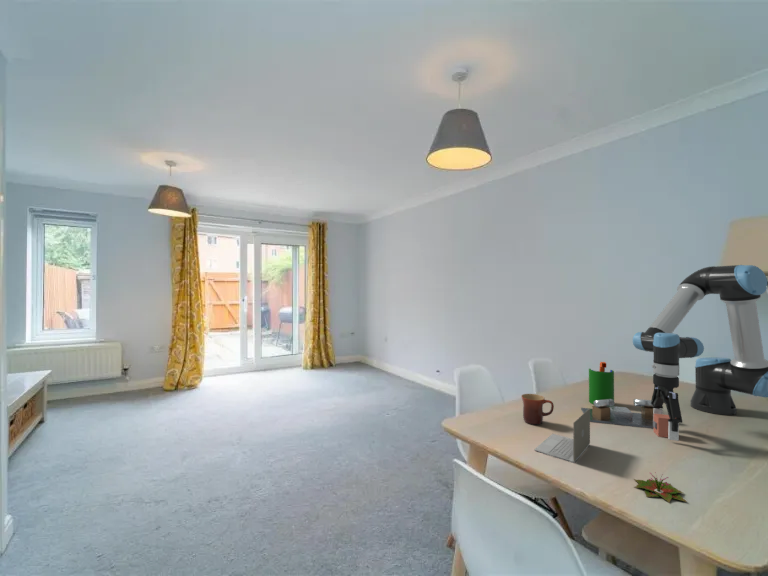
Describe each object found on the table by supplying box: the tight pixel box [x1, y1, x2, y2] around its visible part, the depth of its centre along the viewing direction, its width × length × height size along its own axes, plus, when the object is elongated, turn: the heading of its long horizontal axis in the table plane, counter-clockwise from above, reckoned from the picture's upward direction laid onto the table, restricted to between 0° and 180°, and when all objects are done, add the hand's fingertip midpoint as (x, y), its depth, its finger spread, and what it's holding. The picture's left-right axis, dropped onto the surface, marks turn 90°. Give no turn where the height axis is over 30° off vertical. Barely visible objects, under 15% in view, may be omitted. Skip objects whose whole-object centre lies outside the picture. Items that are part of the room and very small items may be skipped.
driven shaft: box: [591, 399, 615, 420], centre depth 147 cm, size 8×4×7 cm, turn 106°
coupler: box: [653, 413, 670, 439], centre depth 132 cm, size 7×4×7 cm, turn 71°
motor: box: [588, 361, 615, 408], centre depth 167 cm, size 10×9×20 cm
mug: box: [521, 393, 555, 426], centre depth 144 cm, size 12×9×10 cm
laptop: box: [533, 408, 591, 464], centre depth 121 cm, size 18×12×13 cm
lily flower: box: [633, 472, 688, 504], centre depth 96 cm, size 12×12×5 cm
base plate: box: [580, 398, 654, 429], centre depth 148 cm, size 27×15×8 cm, turn 71°
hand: (665, 432), depth 132 cm, fingers open, 13 cm apart
